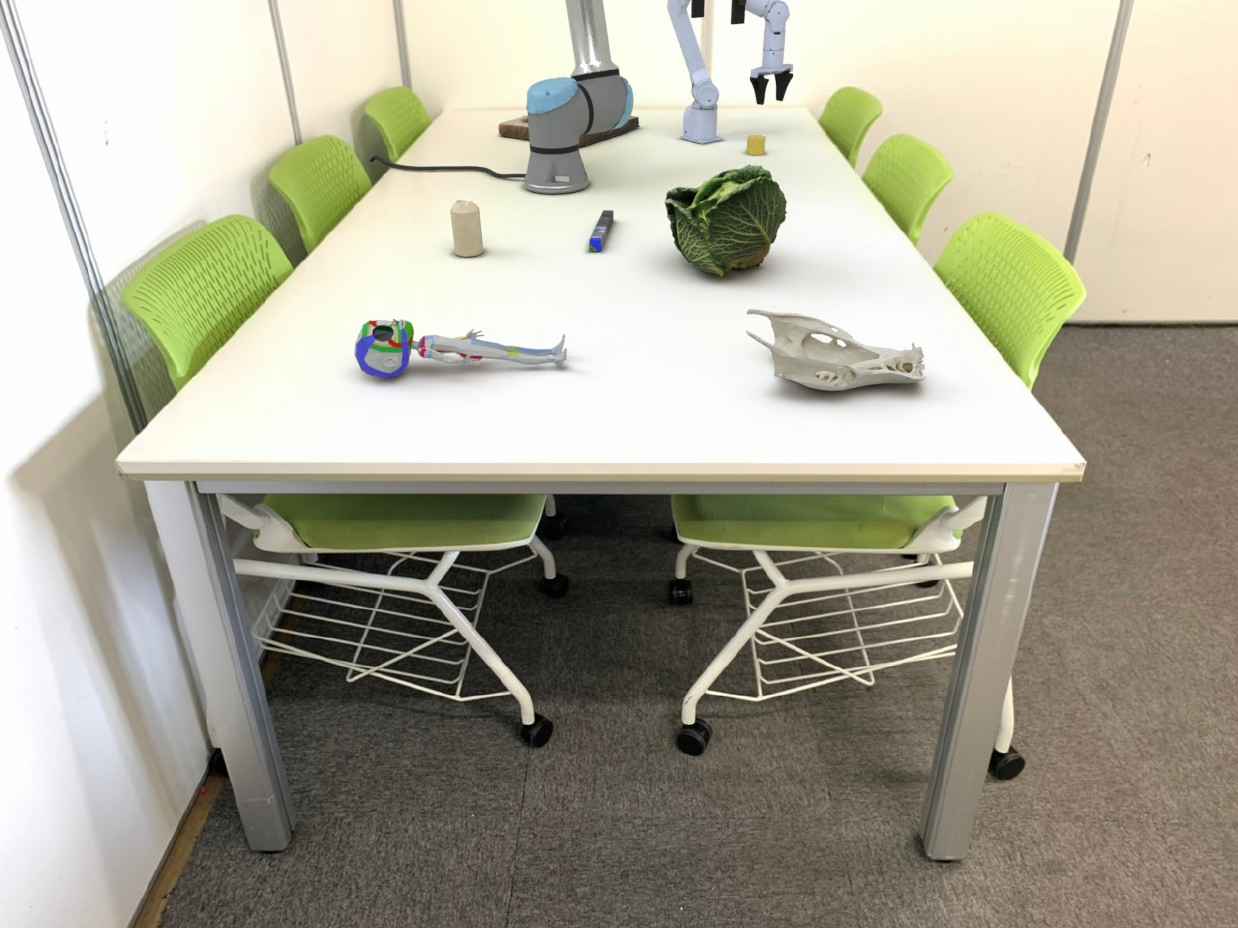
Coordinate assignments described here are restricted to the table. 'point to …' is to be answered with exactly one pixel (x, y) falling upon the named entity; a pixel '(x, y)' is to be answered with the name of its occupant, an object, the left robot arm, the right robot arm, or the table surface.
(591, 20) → the left robot arm
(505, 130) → the plaque
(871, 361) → the anatomical model
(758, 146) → the cylinder
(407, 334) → the toy
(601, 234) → the pillar
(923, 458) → the table surface
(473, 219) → the candle
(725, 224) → the vegetable
